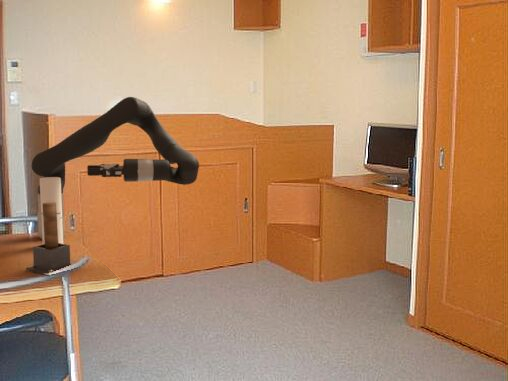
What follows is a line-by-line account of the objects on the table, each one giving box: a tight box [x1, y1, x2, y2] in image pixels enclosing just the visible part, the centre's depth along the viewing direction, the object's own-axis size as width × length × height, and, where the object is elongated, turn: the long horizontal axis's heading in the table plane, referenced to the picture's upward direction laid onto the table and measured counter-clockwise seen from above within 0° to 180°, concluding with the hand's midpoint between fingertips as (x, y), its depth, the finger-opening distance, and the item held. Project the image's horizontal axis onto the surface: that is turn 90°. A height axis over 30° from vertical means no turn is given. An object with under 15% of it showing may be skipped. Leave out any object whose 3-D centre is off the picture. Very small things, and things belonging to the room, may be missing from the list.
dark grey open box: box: [25, 243, 73, 275], centre depth 192 cm, size 11×11×8 cm
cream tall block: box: [39, 177, 64, 244], centre depth 219 cm, size 7×7×25 cm
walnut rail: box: [43, 202, 58, 249], centre depth 191 cm, size 4×4×20 cm
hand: (87, 170), depth 197 cm, fingers open, 8 cm apart
